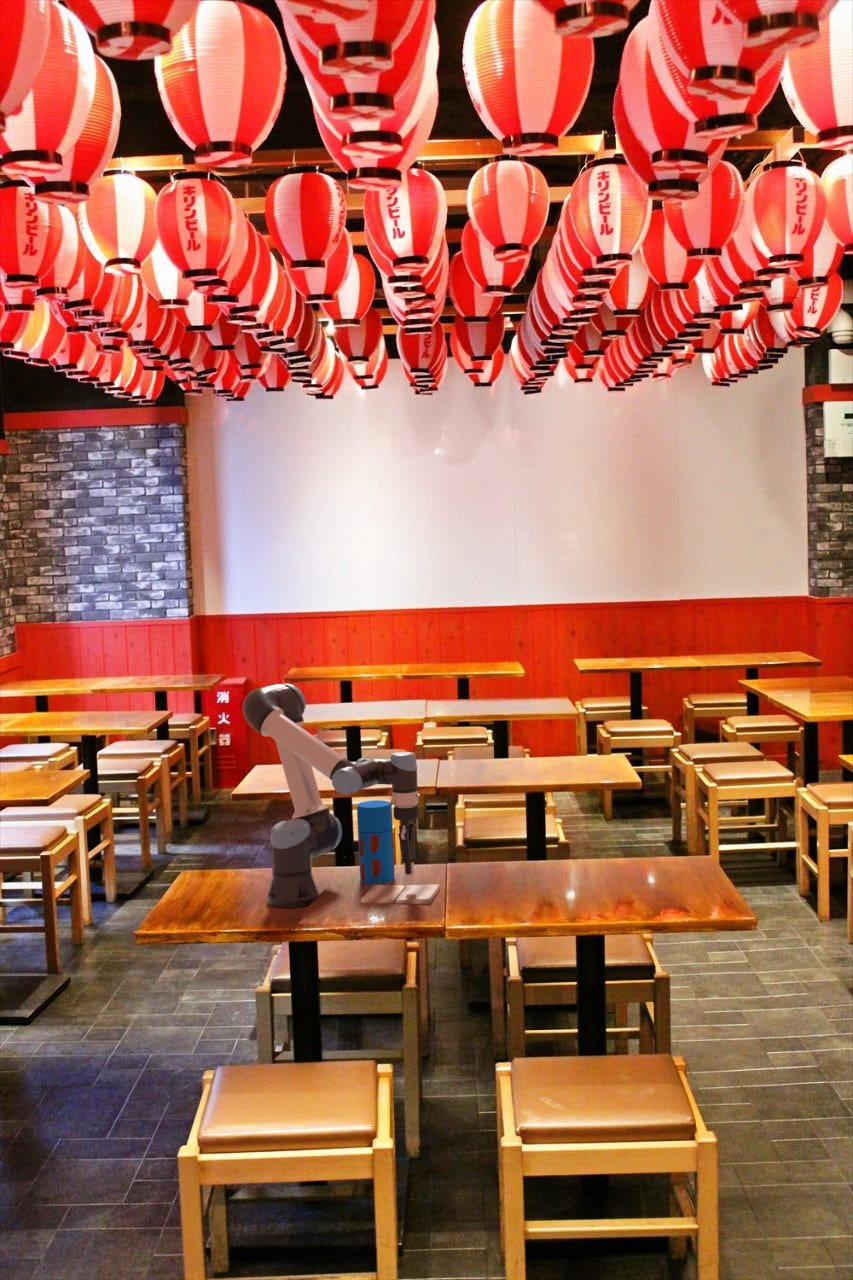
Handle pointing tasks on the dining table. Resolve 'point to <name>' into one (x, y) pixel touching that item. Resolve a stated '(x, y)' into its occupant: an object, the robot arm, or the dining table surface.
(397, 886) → the floor board
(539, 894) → the dining table surface
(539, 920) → the dining table surface
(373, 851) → the thermos
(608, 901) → the dining table surface
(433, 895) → the plank
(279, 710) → the robot arm
